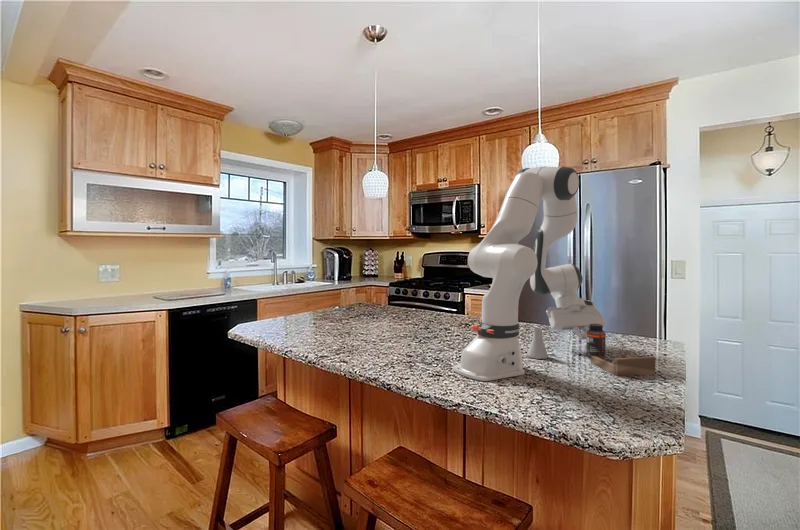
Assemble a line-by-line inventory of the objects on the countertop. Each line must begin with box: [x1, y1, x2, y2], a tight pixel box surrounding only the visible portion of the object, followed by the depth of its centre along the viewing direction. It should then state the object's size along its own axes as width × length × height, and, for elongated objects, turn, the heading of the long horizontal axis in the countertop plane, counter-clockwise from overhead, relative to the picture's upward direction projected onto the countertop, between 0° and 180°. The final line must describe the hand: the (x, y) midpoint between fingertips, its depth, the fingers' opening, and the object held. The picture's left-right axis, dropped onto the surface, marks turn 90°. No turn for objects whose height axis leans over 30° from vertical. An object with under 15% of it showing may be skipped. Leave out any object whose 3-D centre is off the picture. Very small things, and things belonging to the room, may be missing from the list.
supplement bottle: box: [585, 324, 607, 359], centre depth 136 cm, size 6×6×11 cm
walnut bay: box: [590, 354, 656, 377], centre depth 124 cm, size 13×12×5 cm
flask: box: [526, 326, 549, 360], centre depth 137 cm, size 7×7×10 cm
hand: (584, 338), depth 143 cm, fingers closed
